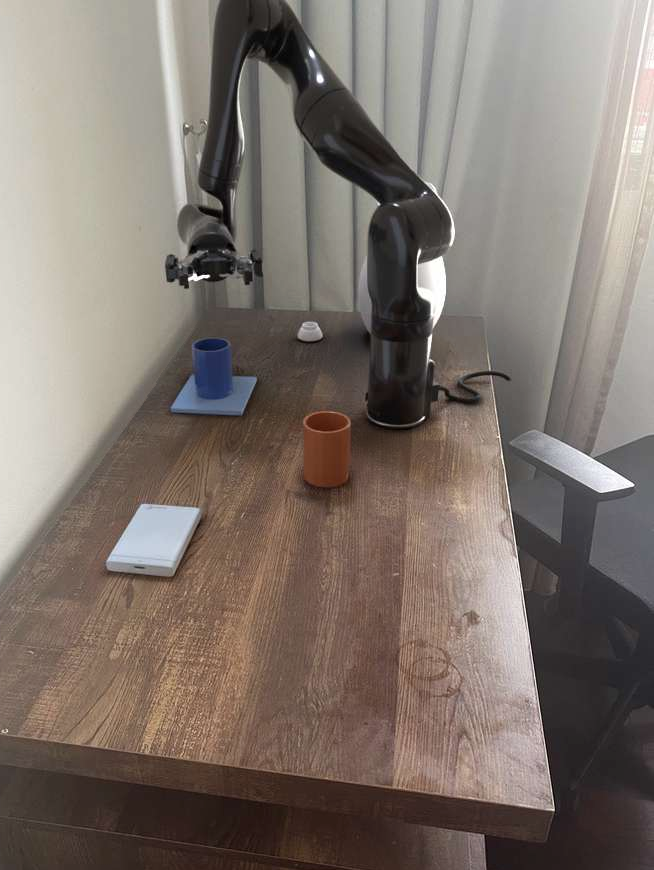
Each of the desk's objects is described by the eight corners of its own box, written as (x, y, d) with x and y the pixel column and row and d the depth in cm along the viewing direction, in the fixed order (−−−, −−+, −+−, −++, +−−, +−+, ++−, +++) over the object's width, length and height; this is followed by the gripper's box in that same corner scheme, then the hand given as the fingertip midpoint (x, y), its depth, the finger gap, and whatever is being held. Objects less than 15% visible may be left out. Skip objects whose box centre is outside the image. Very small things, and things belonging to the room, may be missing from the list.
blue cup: (226, 381, 131) (223, 335, 126) (238, 395, 126) (235, 348, 121) (191, 387, 129) (187, 341, 124) (202, 402, 124) (198, 354, 119)
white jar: (293, 341, 148) (316, 344, 147) (293, 326, 147) (316, 330, 145) (303, 332, 152) (326, 335, 150) (303, 318, 151) (326, 321, 149)
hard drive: (140, 502, 97) (105, 559, 86) (201, 507, 95) (172, 566, 85) (142, 513, 97) (107, 571, 87) (202, 518, 96) (173, 577, 86)
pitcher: (358, 320, 158) (363, 180, 142) (439, 322, 155) (453, 180, 140) (352, 363, 138) (357, 206, 123) (444, 366, 136) (461, 207, 120)
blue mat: (191, 378, 134) (191, 374, 134) (256, 380, 132) (256, 376, 132) (170, 412, 123) (170, 408, 122) (241, 415, 121) (241, 411, 120)
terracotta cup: (336, 460, 108) (337, 407, 103) (356, 481, 103) (358, 427, 98) (296, 469, 106) (295, 416, 101) (314, 491, 101) (314, 436, 96)
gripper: (163, 228, 114) (162, 255, 100) (255, 223, 115) (266, 249, 102) (168, 277, 118) (168, 309, 104) (257, 271, 119) (268, 303, 106)
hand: (216, 279), depth 103 cm, fingers open, 8 cm apart
